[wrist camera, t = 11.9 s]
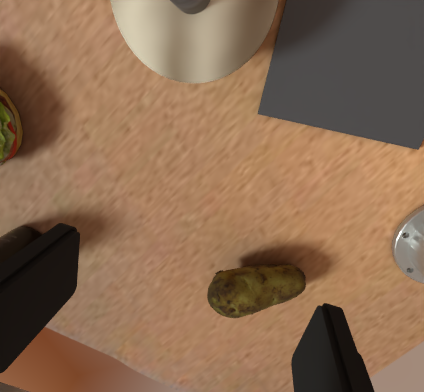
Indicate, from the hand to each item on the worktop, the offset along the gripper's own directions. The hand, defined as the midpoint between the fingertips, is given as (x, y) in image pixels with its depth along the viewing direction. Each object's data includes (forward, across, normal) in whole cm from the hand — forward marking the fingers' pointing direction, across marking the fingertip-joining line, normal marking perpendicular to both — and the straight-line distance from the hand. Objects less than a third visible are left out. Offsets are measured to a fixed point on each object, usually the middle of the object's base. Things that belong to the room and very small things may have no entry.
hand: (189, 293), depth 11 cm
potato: (+28, -7, +18) cm, 34 cm away
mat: (+28, -10, -14) cm, 33 cm away
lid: (+22, +8, -14) cm, 27 cm away
